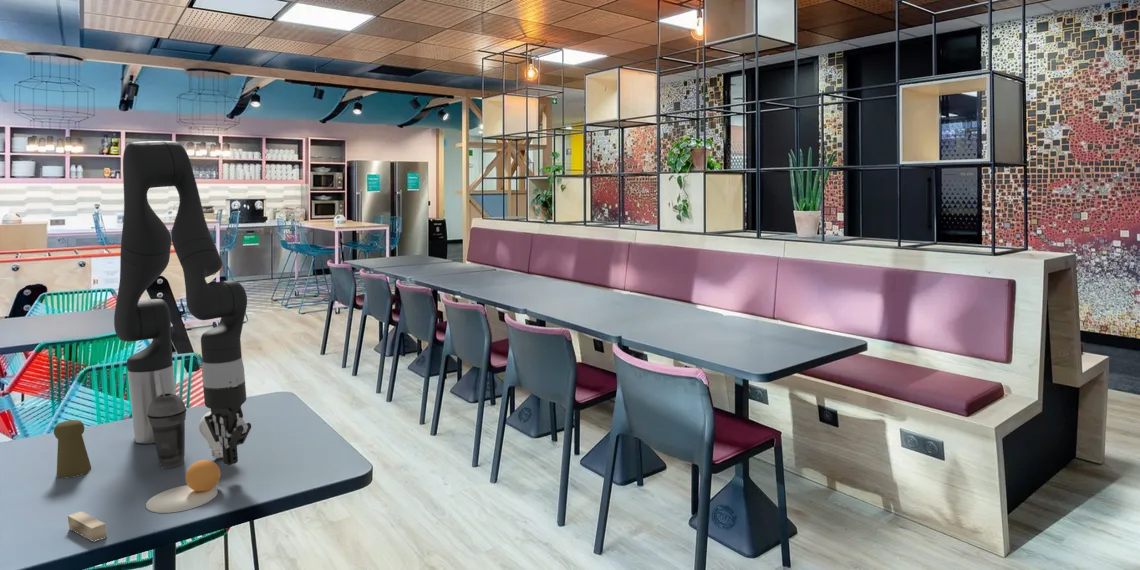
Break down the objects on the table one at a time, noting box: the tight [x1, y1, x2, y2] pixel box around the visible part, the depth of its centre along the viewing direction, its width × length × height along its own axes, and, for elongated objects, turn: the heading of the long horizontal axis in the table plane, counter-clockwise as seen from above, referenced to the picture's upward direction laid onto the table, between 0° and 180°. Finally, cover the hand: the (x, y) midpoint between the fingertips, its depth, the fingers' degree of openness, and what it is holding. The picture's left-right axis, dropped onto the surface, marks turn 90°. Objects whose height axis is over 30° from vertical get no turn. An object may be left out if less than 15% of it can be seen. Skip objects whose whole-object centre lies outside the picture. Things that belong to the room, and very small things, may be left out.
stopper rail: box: [67, 510, 108, 541], centre depth 119 cm, size 9×2×2 cm, turn 57°
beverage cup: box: [148, 373, 188, 469], centre depth 148 cm, size 7×7×20 cm
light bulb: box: [198, 410, 223, 460], centre depth 151 cm, size 7×7×11 cm
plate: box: [145, 484, 219, 514], centre depth 132 cm, size 12×12×1 cm
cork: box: [53, 419, 92, 479], centre depth 145 cm, size 6×6×11 cm
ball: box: [185, 459, 221, 492], centre depth 135 cm, size 6×6×6 cm
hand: (231, 463), depth 140 cm, fingers closed
